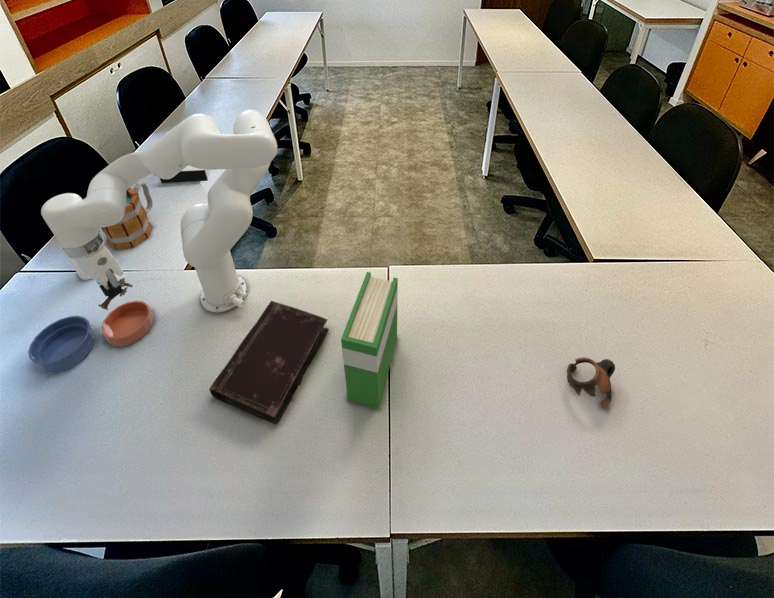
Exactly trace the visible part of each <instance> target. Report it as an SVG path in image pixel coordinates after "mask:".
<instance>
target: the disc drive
mask: <svg viewBox="0 0 774 598" xmlns="http://www.w3.org/2000/svg"><path fill="white" fill-rule="evenodd" d="M211 172H212V170H208V169H198V168H194V167H192V166H190V165H188V166H187V167H186V168H184V169H183V170H182V171H180V172H179V173H178V174H176V175H175V176H174V177H173V178H171V179H161V178H159V181H160V183H161V184H176V183H192V182H193V183H194V182H195V183H196V182H208V180H209V177H210V174H211Z"/></svg>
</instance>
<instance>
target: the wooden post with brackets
mask: <svg viewBox="0 0 774 598" xmlns="http://www.w3.org/2000/svg"><path fill="white" fill-rule="evenodd" d="M118 281H119V283H120V286H121V288H122V290H123V291H122V292H121V293H120V294H119V297H120V298H121V297H122V296H125V294H126V293H127V292H128V287H129V288H133V286H134V285H133V284H130V283H128V282H126V277H122V278H120V279H118ZM111 302H112V300H111V299H109V297H108V296H107V298H106V299H105V300H104V301H103V302H102V303H99V304H98V305H97V306H98V307H99V308H101V309H103V310H106V311H109V308H108V307H109V305H110V303H111Z"/></svg>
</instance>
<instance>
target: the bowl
mask: <svg viewBox="0 0 774 598" xmlns="http://www.w3.org/2000/svg"><path fill="white" fill-rule="evenodd" d="M96 340H97V334H96V330H95V329H94V327H93V325H92V323H91V322H90V320H88V319H87V318H86V317H85V316H81V315H71V316H66V317H63V318H60V319H58V320H55V321H53V322H51V323H50V324H49V325H47V326H46V327H45V328H43V329H42V330H41V331H40V332H39V333H38V334H37V335H36V336H35V337H34V338H33V340H32V341H31V343H30V344H29V348H28V352H27V354H28V358H29V360H30V361H31V363H33V365H34V366H35V367H36V368H37V369H38V370H39V372H41V373H46V374H56V373H60V372H63V371H65V370H68V369H70V368H72V367H73V366H75V365H77V364H78V363H79V362H81V361H82V360H83V359H84V358H85V357H86V356H87V355H88V354H89V353H90V352H91V351H92V349H93V347H94V345H95V343H96Z"/></svg>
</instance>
